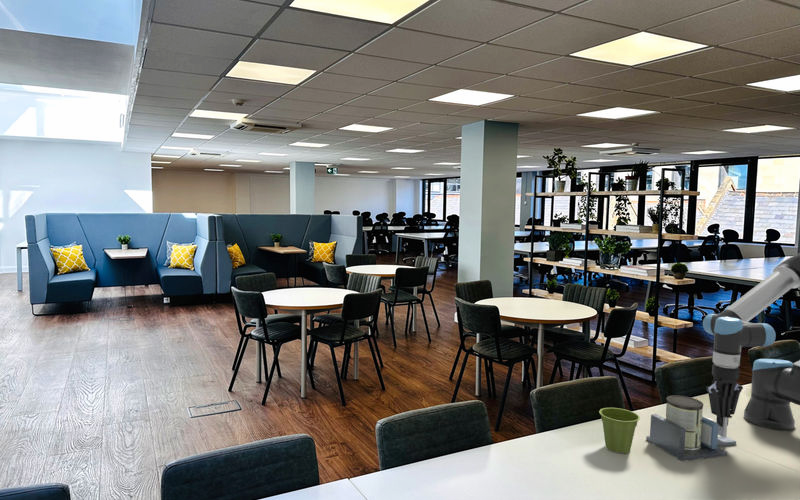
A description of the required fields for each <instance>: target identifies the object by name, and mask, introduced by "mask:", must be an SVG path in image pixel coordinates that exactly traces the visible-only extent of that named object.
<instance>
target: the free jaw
mask: <svg viewBox="0 0 800 500" xmlns="http://www.w3.org/2000/svg"><path fill="white" fill-rule="evenodd" d="M705 417H706V416H703V415H702V426H701V444H703V445H705V446H707V447H709V448H711V449H717V441H718V437H719V435H718V431H721V426H720V425H719V424H718V423H716V421H714V420H712V421H711V420H709V419H707V418H708V417H707V418H705Z"/></svg>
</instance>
